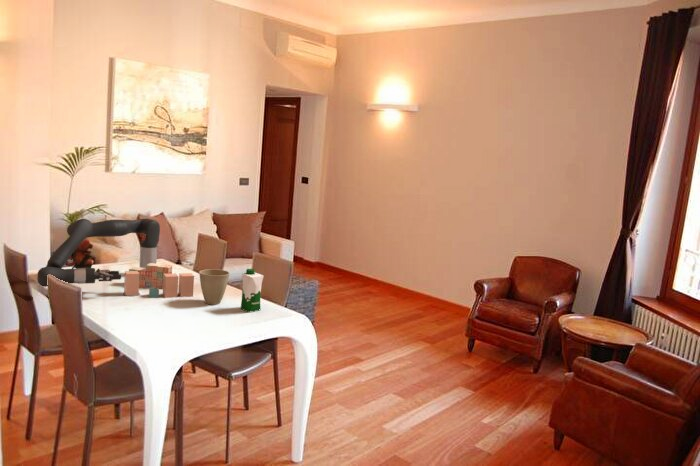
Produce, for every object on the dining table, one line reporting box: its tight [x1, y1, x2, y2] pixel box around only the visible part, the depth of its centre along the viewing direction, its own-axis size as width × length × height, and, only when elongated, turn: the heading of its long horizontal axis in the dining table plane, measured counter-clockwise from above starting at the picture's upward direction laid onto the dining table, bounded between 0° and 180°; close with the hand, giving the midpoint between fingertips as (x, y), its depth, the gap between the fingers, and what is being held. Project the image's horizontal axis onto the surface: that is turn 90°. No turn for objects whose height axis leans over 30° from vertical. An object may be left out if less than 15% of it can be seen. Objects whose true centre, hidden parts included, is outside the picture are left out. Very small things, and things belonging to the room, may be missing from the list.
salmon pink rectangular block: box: [123, 270, 140, 296], centre depth 282 cm, size 6×6×11 cm
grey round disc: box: [122, 292, 141, 297], centre depth 283 cm, size 8×8×1 cm
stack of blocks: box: [128, 263, 173, 290], centre depth 300 cm, size 21×6×12 cm, turn 90°
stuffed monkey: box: [64, 237, 101, 270], centre depth 304 cm, size 15×17×25 cm
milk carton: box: [240, 268, 265, 312], centre depth 275 cm, size 9×9×20 cm
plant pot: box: [198, 268, 230, 306], centre depth 280 cm, size 15×15×16 cm
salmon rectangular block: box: [162, 273, 179, 299], centre depth 286 cm, size 6×6×11 cm
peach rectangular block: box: [178, 272, 195, 298], centre depth 289 cm, size 6×6×11 cm
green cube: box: [148, 287, 160, 299], centre depth 282 cm, size 4×4×4 cm
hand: (119, 275), depth 278 cm, fingers open, 8 cm apart
